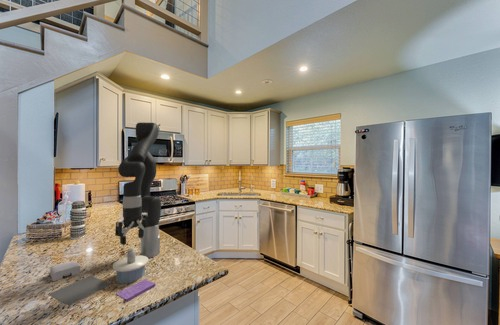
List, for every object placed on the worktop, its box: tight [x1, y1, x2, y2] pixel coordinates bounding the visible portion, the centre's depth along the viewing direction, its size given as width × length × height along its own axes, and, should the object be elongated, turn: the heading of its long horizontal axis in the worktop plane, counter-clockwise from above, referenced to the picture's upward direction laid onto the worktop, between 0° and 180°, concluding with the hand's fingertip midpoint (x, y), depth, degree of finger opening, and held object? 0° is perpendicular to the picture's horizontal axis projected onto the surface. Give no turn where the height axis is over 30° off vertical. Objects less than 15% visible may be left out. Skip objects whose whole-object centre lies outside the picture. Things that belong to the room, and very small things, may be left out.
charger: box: [49, 260, 81, 282], centre depth 98 cm, size 5×9×15 cm
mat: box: [47, 275, 112, 306], centre depth 85 cm, size 15×15×1 cm
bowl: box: [115, 265, 146, 284], centre depth 95 cm, size 11×11×6 cm
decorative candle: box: [69, 200, 87, 240], centre depth 146 cm, size 9×9×25 cm
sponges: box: [115, 278, 156, 303], centre depth 85 cm, size 7×13×2 cm, turn 151°
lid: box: [112, 249, 149, 272], centre depth 95 cm, size 14×14×6 cm
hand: (132, 241), depth 95 cm, fingers open, 8 cm apart
